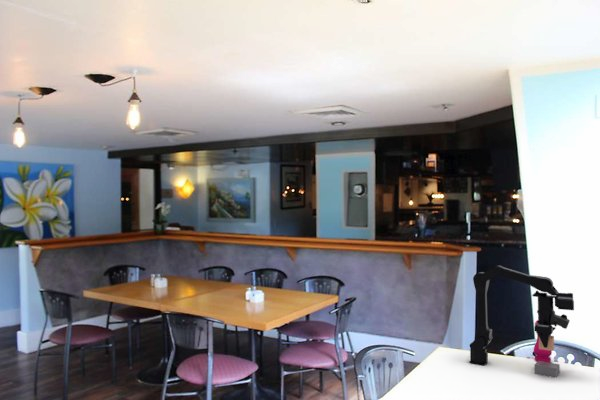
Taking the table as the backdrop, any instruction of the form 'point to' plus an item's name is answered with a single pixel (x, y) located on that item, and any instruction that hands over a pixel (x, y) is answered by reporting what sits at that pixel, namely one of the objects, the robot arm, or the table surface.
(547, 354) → the pepper mill
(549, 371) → the gray box
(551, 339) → the terracotta block
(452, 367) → the table surface
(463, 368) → the table surface
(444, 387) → the table surface
